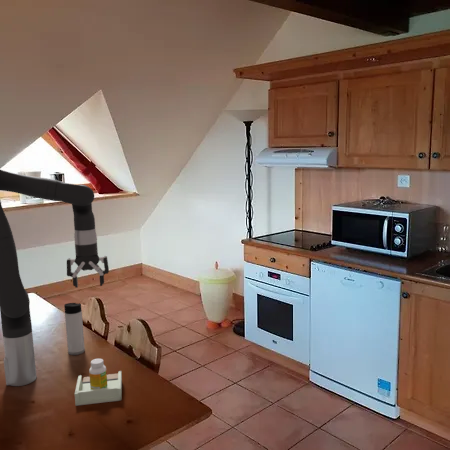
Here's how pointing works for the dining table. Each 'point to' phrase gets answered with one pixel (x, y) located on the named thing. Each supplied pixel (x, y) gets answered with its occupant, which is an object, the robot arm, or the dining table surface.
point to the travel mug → (74, 328)
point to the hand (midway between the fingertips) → (89, 286)
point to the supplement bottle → (98, 374)
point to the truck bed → (98, 390)
